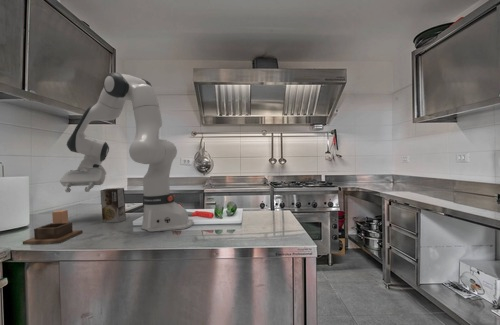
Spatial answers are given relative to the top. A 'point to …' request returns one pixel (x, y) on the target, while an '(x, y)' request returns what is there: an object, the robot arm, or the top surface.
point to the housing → (53, 233)
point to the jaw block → (60, 216)
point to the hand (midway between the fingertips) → (76, 191)
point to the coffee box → (113, 205)
